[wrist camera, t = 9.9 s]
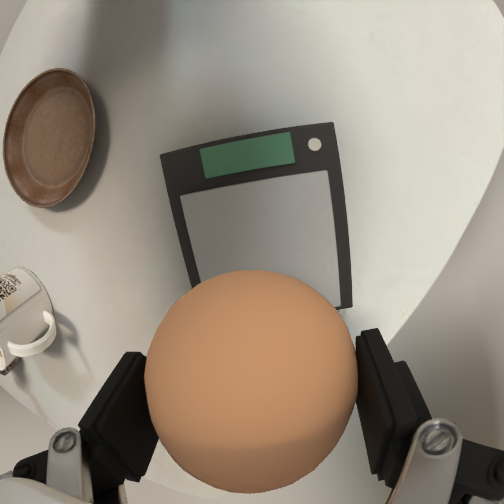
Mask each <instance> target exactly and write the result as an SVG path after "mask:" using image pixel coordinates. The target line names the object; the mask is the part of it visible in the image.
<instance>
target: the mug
mask: <svg viewBox="0 0 504 504" xmlns="http://www.w3.org/2000/svg"><path fill="white" fill-rule="evenodd" d="M49 326H50V328H49V330H48V332H47V333H46V334H45V335H44V336H43V337H42V338H41V339H39V340H38V341H36V342H33V341H34V340H35V339H36V338H37V337H38V336H39V335H40V334H41V333H42V332H43V331H44V330H45V329H47V328H48V327H49ZM55 336H56V324H55V319H54V317H53V312H52V306H51V302H50V299H49V297H48V294H47V292H46V290H45V288H44V287H43V285H42V284H41V282H40V281H39V280H38V278H37V277H36V276H35V275H34V274H33V273H32V272H30V271H29V270H27V269H26V268H23V267H15V268H13V269H12V270H10V271H8V272H7V273H5V274H3V275H2V276H0V371H3V370H5V369H6V368H7V367H8V366H9V365H10V364H11V363H12V362H13V361H14V360H15V359H16V358H17V357H30V356H33V355H36V354H38V353H40V352H42V351H43V350H45V349H46V348H47V347H48V346H49V345H50V344H51V343H52V342H53V340H54V338H55ZM32 342H33V343H32Z"/></svg>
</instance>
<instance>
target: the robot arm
mask: <svg viewBox="0 0 504 504" xmlns="http://www.w3.org/2000/svg"><path fill="white" fill-rule="evenodd" d="M356 358H357V364H358V395H357V398H356V404H357V409H358V412H359V417H360V422H361V426H362V430H363V435H364V440H365V445H366V450H367V455H368V460H369V465H370V469H371V473H372V474H377V475H378V480H379V481H380V480H385V484H386V486H388V487H390V488H391V490H390V493H389V495H388V497H387V500H386V503H385V504H504V451H502V450H499V449H495V448H491V447H488V446H484V445H481V444H478V443H474V442H471V441H468V440H465V439H462V432H461V429H460V427H459V426H458V425H457V424H456V423H455V422H453V421H451V420H449V419H445V418H435V419H432V417H431V415H430V413H429V410H428V408H427V406H426V404H425V402H424V399H423V397H422V395H421V393H420V390H419V388H418V386H417V384H416V382H415V380H414V378H413V376H412V374H411V372H410V369H409V367H408V365H407V364H406V362H405V361H400V362H395V363H394V361H393V359H392V357H391V355H390V353H389V350H388V349H387V346H386V344H385V342H384V340H383V338H382V335H381V333H380V331H379V329H378V328H375V329H370V330H364V331H361V336H356ZM146 360H147V357H146V356H144V355H143V354H142V353H141V352H126V353H125V354H124V355H123V357H122V358H121V360H120V361H119V363H118V364H117V365H116V367H115V368H114V370H113V371H112V373H111V374H110V376H109V377H108V379H107V380H106V382H105V383H104V385H103V386H102V388H101V389H100V391H99V392H98V394H97V396H96V397H95V399H94V400H93V402H92V403H91V405H90V406H89V408H88V409H87V411H86V413H85V414H84V416H83V417H82V419H81V420H80V422H79V424H78V426H79V427H80V428H81V429H80V431H79V432H78V431H77V430H76V429H74V428H63V429H60V430H59V431H57V432H56V433H55V434H54V435H53V436H52V438H51V440H50V443H49V449H48V450H46V451H43V452H41V453H38V454H36V455H33V456H30V457H28V458H25V459H23V460H21V461H19V462H18V463H17V464H16V466H15V467H14V470H13V471H9V472H7V473H5V474H3V475H0V504H128V502H127V497H126V492H125V486H124V480H125V478H126V479H127V480H130V481H135V482H139V481H140V479H141V476H144V475H145V474H146V471H147V468H148V466H149V463H150V461H151V458H152V455H153V453H154V450H155V448H156V445H157V442H158V440H159V437H158V434H157V432H156V430H155V428H154V425H153V423H152V421H151V417H150V412H149V408H148V402H147V395H146V388H145V381H144V373H145V367H146Z"/></svg>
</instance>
